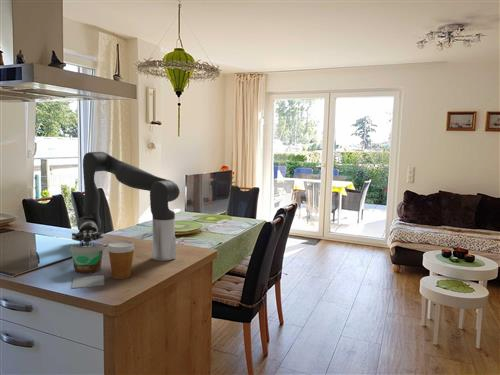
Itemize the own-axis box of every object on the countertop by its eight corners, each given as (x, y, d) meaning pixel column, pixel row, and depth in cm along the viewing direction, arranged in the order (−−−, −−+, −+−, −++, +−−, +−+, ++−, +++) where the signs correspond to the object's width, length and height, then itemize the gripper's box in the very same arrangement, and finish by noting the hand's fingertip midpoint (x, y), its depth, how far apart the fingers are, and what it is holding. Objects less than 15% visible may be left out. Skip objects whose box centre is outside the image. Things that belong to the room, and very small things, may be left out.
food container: (66, 275, 135) (66, 248, 134) (70, 270, 141) (69, 244, 140) (103, 273, 139) (102, 247, 138) (104, 268, 144) (104, 243, 143)
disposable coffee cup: (106, 273, 139) (106, 241, 138) (133, 270, 143) (133, 239, 142) (108, 281, 130) (108, 248, 129) (136, 278, 134) (136, 246, 133)
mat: (103, 275, 136) (103, 275, 136) (104, 285, 127) (104, 284, 127) (73, 278, 132) (73, 277, 132) (71, 288, 123) (71, 287, 123)
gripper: (71, 223, 164) (68, 232, 148) (104, 222, 169) (104, 230, 153) (72, 240, 165) (69, 250, 149) (104, 238, 170) (104, 248, 154)
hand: (87, 240), depth 151 cm, fingers closed
